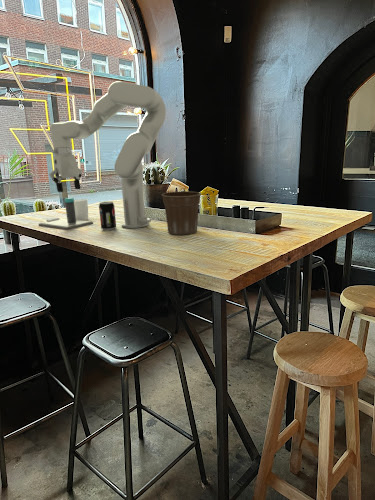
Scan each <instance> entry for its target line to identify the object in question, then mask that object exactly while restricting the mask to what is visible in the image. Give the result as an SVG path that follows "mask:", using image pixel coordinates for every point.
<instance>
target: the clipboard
mask: <svg viewBox="0 0 375 500" xmlns="http://www.w3.org/2000/svg"><path fill="white" fill-rule="evenodd" d="M93 224H94V223H93V221H90V220H76V224H75V225H68V222H67V217H66V218H60V217H54V218H50V219H46V220H45V222H39V223H38V226H40V227H46V228H52V229H59V230H67V231H68V230H73V229H77V228H80V227H86V226H89V225H93Z"/></svg>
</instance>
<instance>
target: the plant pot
mask: <svg viewBox="0 0 375 500" xmlns="http://www.w3.org/2000/svg"><path fill="white" fill-rule="evenodd" d="M201 196H202V193H201V192H200V191H199V192H197V191H187V190H186V191H170V192H169V191H168V192H164V193H162V194H161V197H162V201H163V205H164V210H165V218H166V227H167V233H169V234H171V235H174V236H184V235H187V234H188V235H191V234H192V235H193V234H196V233H197V232H198V220H199V219H198V218H199V207H200V203H201Z"/></svg>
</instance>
